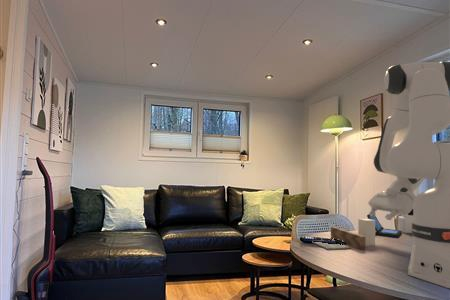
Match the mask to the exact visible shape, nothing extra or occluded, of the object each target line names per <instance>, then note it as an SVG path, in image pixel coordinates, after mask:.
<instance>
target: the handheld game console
mask: <svg viewBox="0 0 450 300" xmlns="http://www.w3.org/2000/svg"><path fill="white" fill-rule="evenodd" d="M366 217H367V219H371V220H375V236H382V237H386V238H387V237H388V238H399V237H400V236H401V234H402V233H403V232H402V231H400V230H398V229H390V228H384V227H383V225H382V224H381V223H380V221H379V220H378V218H377V216H376V215H374V216H370V214H369V213H368V214H367V215H366Z"/></svg>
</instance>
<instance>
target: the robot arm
mask: <svg viewBox="0 0 450 300" xmlns="http://www.w3.org/2000/svg"><path fill="white" fill-rule="evenodd" d="M383 83H384V88H385V90H386V92H388V93H389V94H392V95H395V99H394V107H393V108H394V110H393V112H392V114H391V116H388V117H387V119H386V120H385V122H384V125H383V128H382V132H381V135H380V139H379V144H378V147H377V151H376V153H375V155H374V158H373V165H374V167H375V170H376V171H378V173H379V172H380V173H383V174H388V175H391V176H394V177H396V179H395V180H393V181H392V182H391V183H390V185H389V186H388V188H387V189H386V191H381V192H377V193H376V194H375V195H373V196H372V197H371V198H370V199H369V201H368V203H367V205H368V206H369V207H370V208H371V209H370V211H369V212H368V214H370V216H374V215H375V216H376V212H377V211H378V210H379V211H382V212H388V213H387V214H386V215H385V216H384V218H385V219H386V220H388V221H391V220H392V219H393V218H395V217H396V216H397V217H398V215H402V214H403V215H406V214H408V213H410V211H411V210H412V209H413V223H412V228H411V230H412V233H411V235H412V245H411V250H410V251H411V252H410V259H409V262H408V265H407V275H409V276H411V277H414V278H418V279H420V280H423V281H425V282H428V283H431V284H435V285H438V286H441V287H444V288H447V289H450V143H449V142H447V143H446V142H444V143H443V142H439V143H438V142H433V139H432V137H433V136H435V135H436V134H439V133H441V132H443V131H445V130H447V129H448V128H449V127H450V61H440V62H437V61H434V62H433V61H432V62H431V61H428V62H427V61H426V62H424V61H423V62H421V61H417V62H410V63H405V64H395V65H391V66H390V67H388V69H387V70H386V72H385V75H384V78H383ZM400 131H401V132H402V131H406V133H405V135H404V136H403V137H402V139H401V140H400V141H399V142H398V143H396V144H395V145H393V144H394V140H395V137H396V134H397V133H398V132H400ZM424 180H434V183H433V184H432V187H431V188H429V189H427V190H424V191H422V192H420V193H418V194H417V195H416V194H415V193H414V192H415V191H416V190H417V189H418V188H419V187H421V184H422V183H423V182H424Z"/></svg>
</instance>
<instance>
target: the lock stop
mask: <svg viewBox="0 0 450 300" xmlns="http://www.w3.org/2000/svg"><path fill="white" fill-rule="evenodd" d="M357 224H358V230H357V231H358V233H357V234H359V235H362V236H365V247H366V246H376V231H375V220H371V219H368V218H358V223H357Z"/></svg>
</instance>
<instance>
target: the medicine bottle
mask: <svg viewBox="0 0 450 300" xmlns="http://www.w3.org/2000/svg"><path fill="white" fill-rule="evenodd" d="M397 217H398V218H397V219H398V222H397V223H398V227H397V228H398V229H397V230H400V231H402V233H405V234H412V230H411V228H412V223H413V209H412V210H411V211H410V213H408V214H406V215H403V214H401V215H400V216H397Z"/></svg>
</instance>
